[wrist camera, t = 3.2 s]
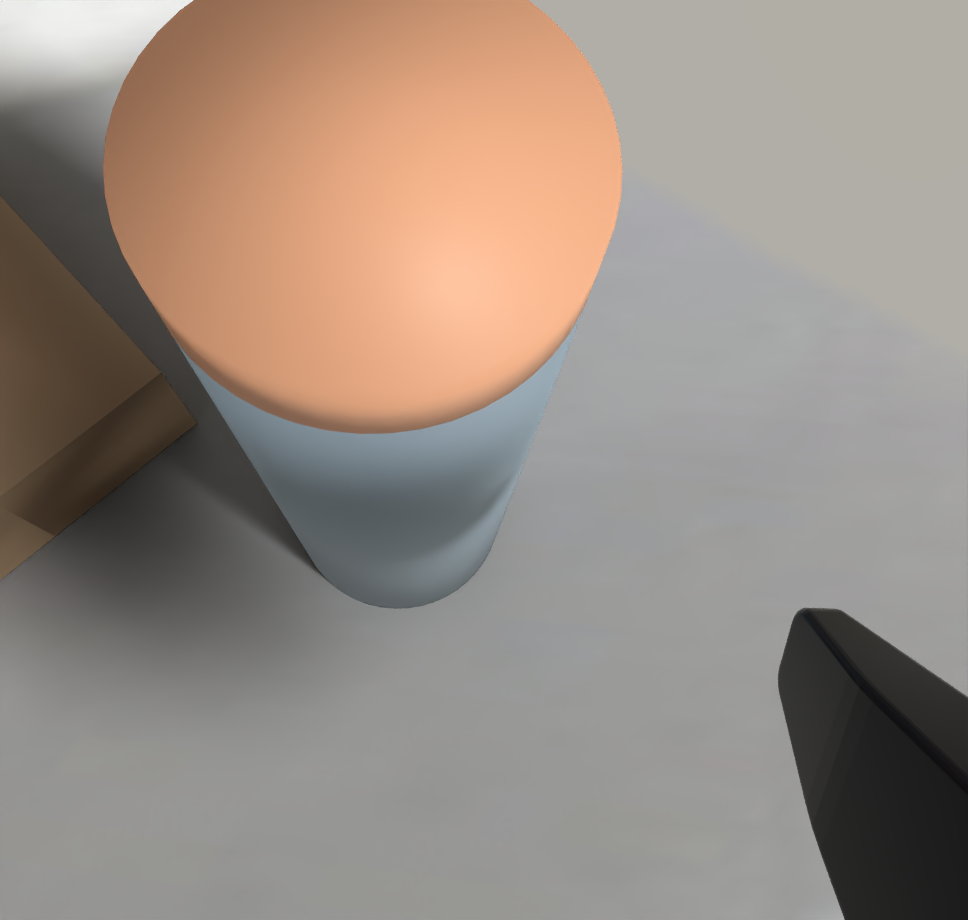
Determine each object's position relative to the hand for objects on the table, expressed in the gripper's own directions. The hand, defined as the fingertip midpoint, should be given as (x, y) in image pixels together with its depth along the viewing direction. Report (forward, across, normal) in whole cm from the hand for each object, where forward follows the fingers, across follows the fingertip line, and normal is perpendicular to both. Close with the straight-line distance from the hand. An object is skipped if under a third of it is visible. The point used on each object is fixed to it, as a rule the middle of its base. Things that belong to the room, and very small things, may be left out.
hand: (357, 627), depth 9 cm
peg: (+10, 0, +5) cm, 11 cm away
